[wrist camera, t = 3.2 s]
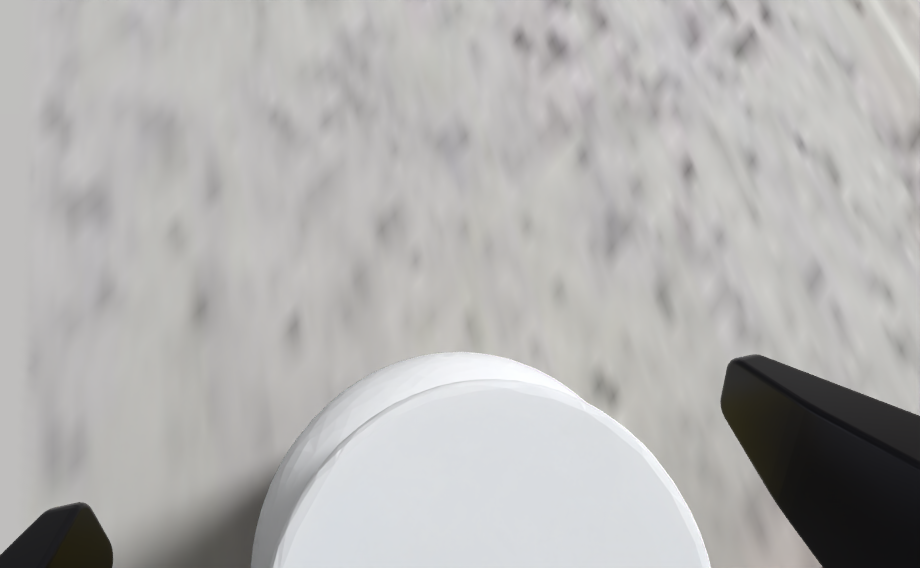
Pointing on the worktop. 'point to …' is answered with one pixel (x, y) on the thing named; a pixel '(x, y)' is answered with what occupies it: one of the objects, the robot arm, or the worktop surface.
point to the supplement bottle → (471, 478)
